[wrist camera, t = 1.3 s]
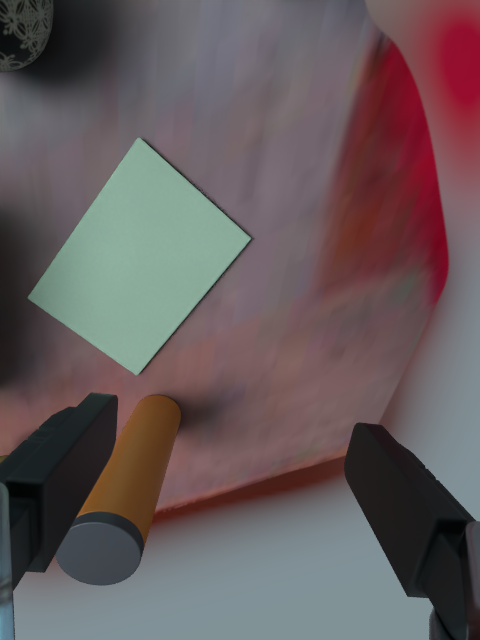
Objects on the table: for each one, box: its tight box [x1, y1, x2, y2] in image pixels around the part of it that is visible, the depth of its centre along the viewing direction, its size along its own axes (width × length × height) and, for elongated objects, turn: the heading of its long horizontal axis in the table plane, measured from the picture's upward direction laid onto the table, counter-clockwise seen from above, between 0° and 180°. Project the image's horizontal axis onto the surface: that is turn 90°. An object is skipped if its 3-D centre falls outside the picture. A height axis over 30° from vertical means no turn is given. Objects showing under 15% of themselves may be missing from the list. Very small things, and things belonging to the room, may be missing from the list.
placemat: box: [27, 137, 251, 375], centre depth 29 cm, size 20×14×1 cm
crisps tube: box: [55, 395, 181, 585], centre depth 26 cm, size 6×6×16 cm
